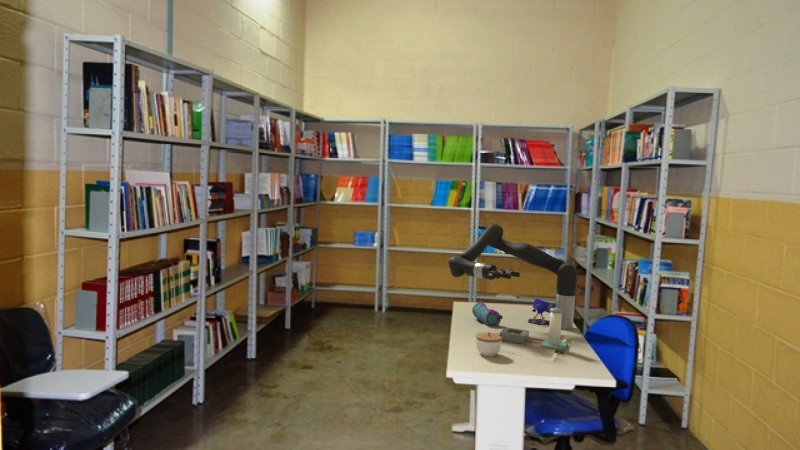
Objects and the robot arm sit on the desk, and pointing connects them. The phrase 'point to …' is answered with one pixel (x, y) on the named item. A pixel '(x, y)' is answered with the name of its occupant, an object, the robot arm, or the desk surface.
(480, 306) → the pencil case
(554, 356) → the desk surface
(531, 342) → the base board
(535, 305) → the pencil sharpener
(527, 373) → the desk surface
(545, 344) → the mat
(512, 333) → the grey square socket
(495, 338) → the lidded jar
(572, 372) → the desk surface
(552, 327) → the capped cream cylinder
